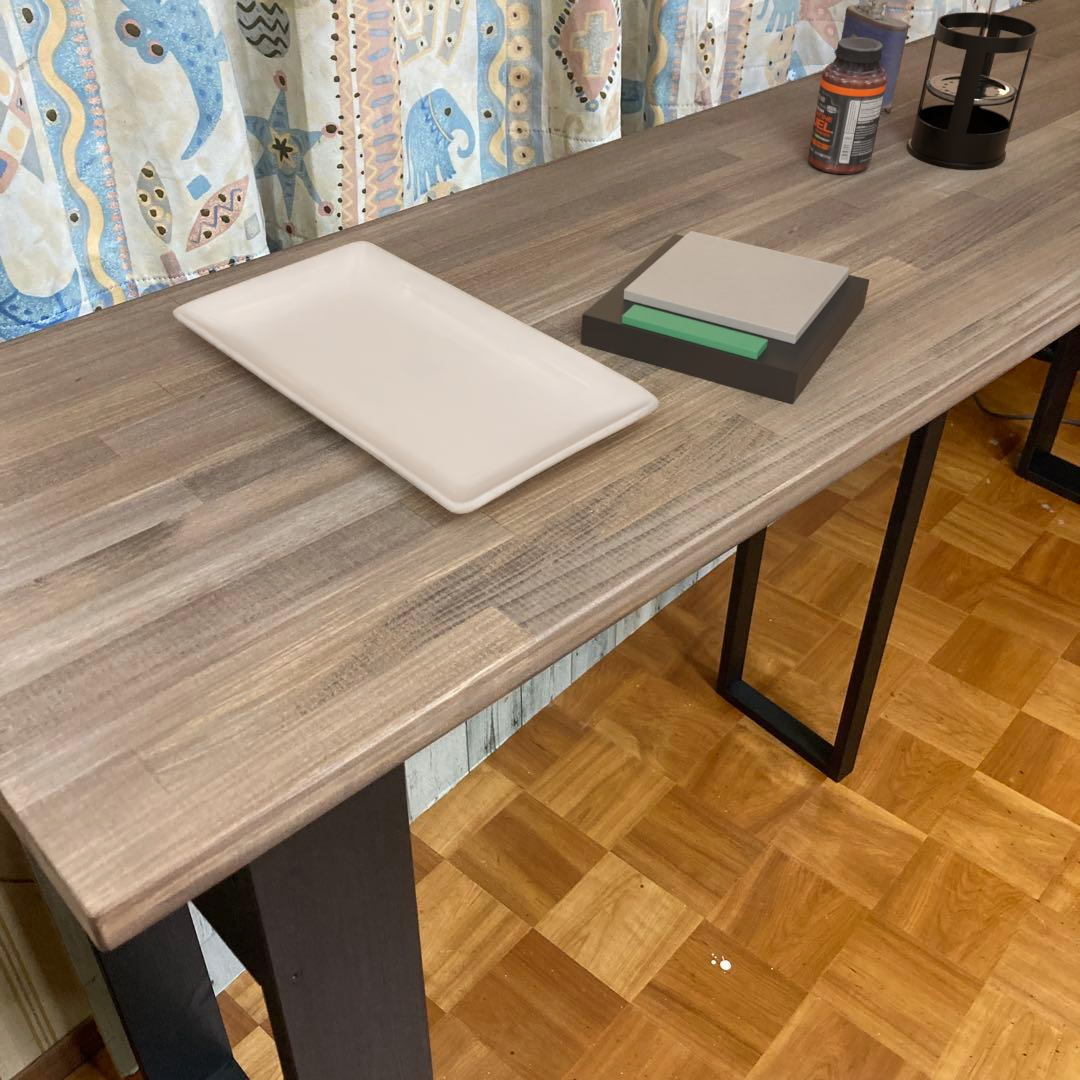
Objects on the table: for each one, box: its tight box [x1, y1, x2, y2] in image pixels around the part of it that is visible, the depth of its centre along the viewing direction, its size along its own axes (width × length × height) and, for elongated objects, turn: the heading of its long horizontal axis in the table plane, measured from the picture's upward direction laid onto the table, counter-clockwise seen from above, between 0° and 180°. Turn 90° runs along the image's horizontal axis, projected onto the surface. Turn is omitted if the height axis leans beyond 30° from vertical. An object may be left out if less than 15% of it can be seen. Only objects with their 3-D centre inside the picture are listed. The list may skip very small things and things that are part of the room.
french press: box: [906, 0, 1038, 171], centre depth 105 cm, size 12×9×23 cm
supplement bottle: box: [808, 37, 887, 175], centre depth 106 cm, size 6×6×11 cm
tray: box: [172, 240, 661, 515], centre depth 74 cm, size 17×31×4 cm, turn 43°
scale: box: [580, 230, 870, 405], centre depth 82 cm, size 16×16×3 cm
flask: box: [840, 0, 910, 115], centre depth 121 cm, size 9×3×11 cm, turn 25°
